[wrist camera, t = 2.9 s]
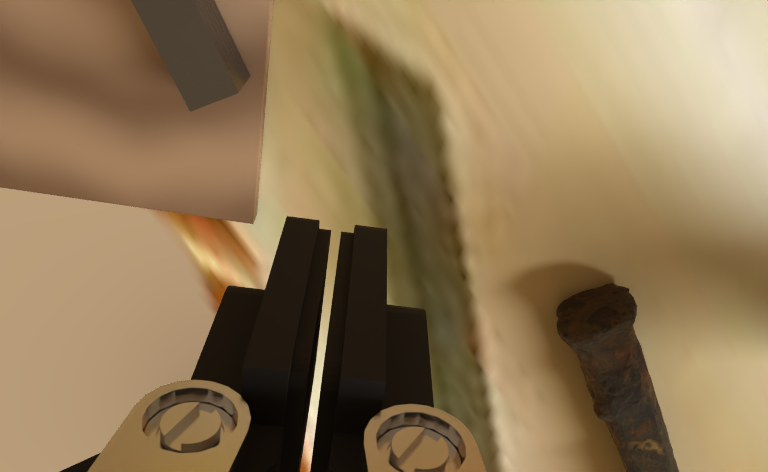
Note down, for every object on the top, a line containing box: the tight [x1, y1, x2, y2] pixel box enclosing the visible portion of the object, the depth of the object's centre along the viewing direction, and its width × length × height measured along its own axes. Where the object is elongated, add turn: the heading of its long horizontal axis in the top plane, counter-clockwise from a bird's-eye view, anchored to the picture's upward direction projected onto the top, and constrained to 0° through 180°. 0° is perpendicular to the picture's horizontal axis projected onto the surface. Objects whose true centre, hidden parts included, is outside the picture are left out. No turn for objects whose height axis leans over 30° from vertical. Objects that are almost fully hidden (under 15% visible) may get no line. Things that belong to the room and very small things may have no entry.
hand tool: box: [556, 284, 679, 472], centre depth 39 cm, size 19×4×5 cm, turn 21°
